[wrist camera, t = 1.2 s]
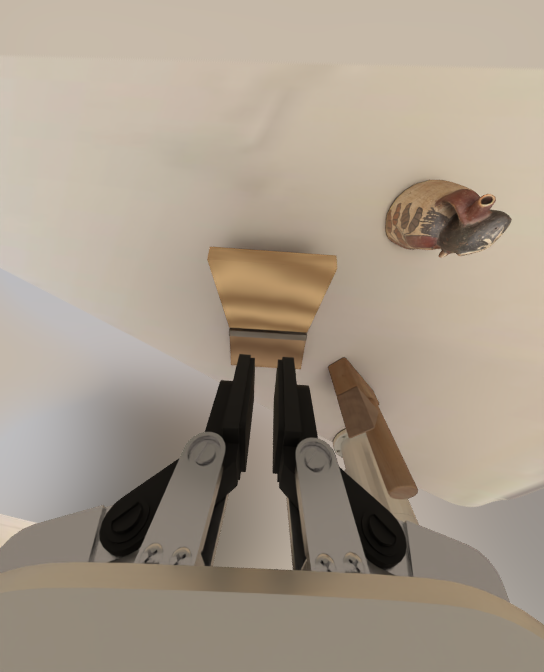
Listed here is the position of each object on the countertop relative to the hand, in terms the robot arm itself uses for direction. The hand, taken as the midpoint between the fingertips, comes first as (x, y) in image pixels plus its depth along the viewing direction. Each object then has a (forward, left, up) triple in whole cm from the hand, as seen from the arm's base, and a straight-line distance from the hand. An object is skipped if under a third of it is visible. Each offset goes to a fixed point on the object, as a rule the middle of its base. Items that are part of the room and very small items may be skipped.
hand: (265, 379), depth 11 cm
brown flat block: (-14, 0, -23) cm, 27 cm away
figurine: (+7, -17, -23) cm, 30 cm away
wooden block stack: (-20, -16, -23) cm, 35 cm away
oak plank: (-3, 0, -18) cm, 19 cm away
